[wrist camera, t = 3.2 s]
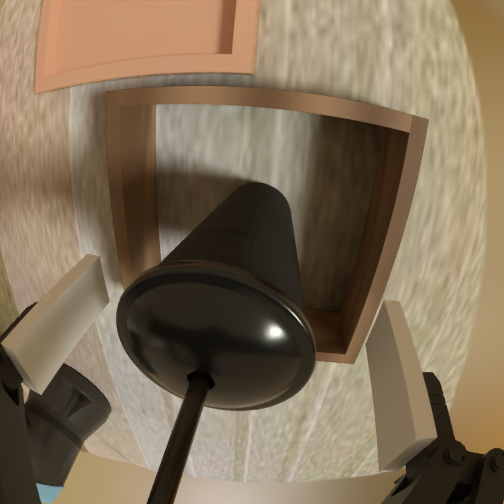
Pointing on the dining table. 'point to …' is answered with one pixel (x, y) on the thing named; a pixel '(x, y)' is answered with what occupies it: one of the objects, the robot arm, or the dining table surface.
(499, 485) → the robot arm
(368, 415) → the dining table surface
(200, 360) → the drinking cup
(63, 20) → the tray
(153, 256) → the wooden frame
